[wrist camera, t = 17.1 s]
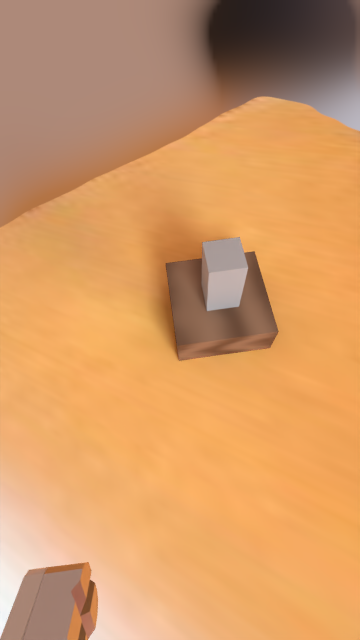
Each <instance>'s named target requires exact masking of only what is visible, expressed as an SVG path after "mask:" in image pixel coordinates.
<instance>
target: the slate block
mask: <svg viewBox="0 0 360 640" xmlns="http://www.w3.org/2000/svg"><path fill="white" fill-rule="evenodd" d="M247 271H248V265H247V262H246V258H245V254H244V251H243V247H242V244H241V240H240V237H237V238H230V239H223V240H215V241H208V242H202V281H201V284H202V289H203V295H204V300H205V305H206V310H207V311H211V310H218V309H225V308H232V307H239V304H240V300H241V296H242V292H243V287H244V283H245V279H246V275H247Z"/></svg>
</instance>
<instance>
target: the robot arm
mask: <svg viewBox="0 0 360 640" xmlns="http://www.w3.org/2000/svg"><path fill="white" fill-rule="evenodd" d="M90 576H91V568H90V566H89V563H88V562H86V563H78V564H70V565H62V566H54V567H46V568H39V569H32V570H29V571H28V572H27V574H26V575H25V577H24V578H23V581H22V583H21V586H20V589H19V591H18V594H17V596H16V599H15V602H14V604H13V607H12V609H11V612H10V615H9V617H8V620H7V623H6V625H5V628H4V630H3V633H2V636H1V638H0V640H88V639H89V637H90V636H91V634H92V633H93V631H94V630H95V627H96V620H97V610H98V596H97V589H96V585H95V583H94V582H93V581H91V580H90Z"/></svg>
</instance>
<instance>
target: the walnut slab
mask: <svg viewBox="0 0 360 640" xmlns="http://www.w3.org/2000/svg"><path fill="white" fill-rule="evenodd" d="M244 254H245V258H246V262H247V265H248V271H247V275H246V279H245V283H244V287H243V292H242V296H241V300H240V304H239V307H232V308H225V309H218V310H211V311H207V310H206V305H205V300H204V295H203V289H202V284H201V281H202V259H194V260H187V261H179V262H172V263H166V270H167V277H168V284H169V292H170V299H171V306H172V314H173V321H174V328H175V336H176V343H177V350H178V357H179V361H180V360H187V359H194V358H201V357H208V356H215V355H222V354H230V353H237V352H244V351H251V350H258V349H265V348H270V347H271V345H272V343H273V341H274V339H275V337H276V335H277V333H278V329H277V325H276V322H275V319H274V315H273V312H272V309H271V305H270V302H269V299H268V295H267V292H266V289H265V285H264V282H263V279H262V275H261V272H260V269H259V265H258V262H257V258H256V255H255V252H246V253H244Z"/></svg>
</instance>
